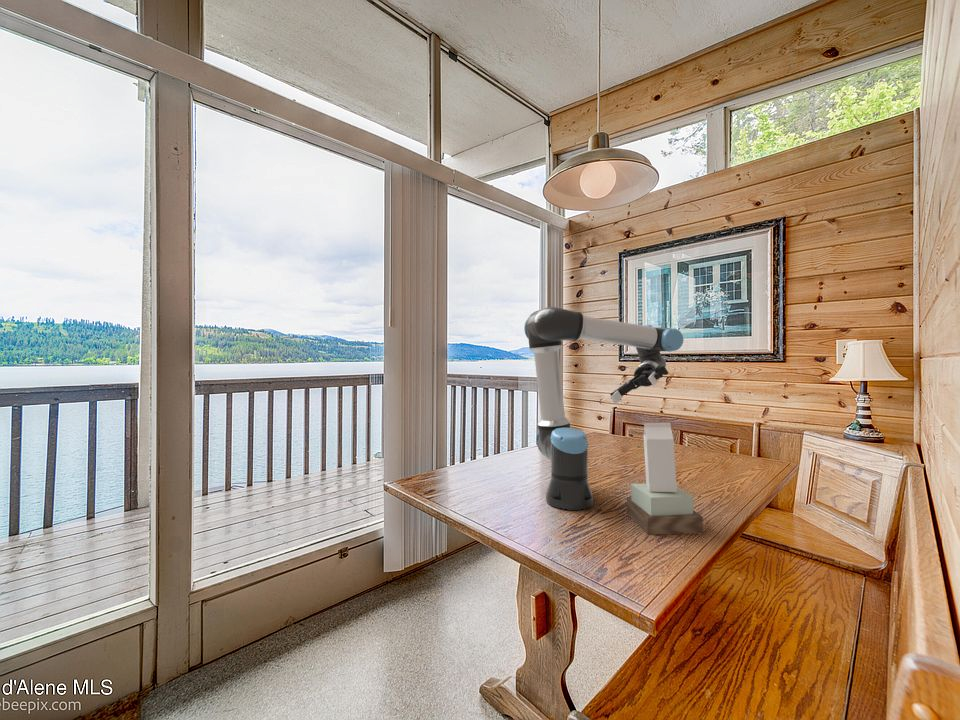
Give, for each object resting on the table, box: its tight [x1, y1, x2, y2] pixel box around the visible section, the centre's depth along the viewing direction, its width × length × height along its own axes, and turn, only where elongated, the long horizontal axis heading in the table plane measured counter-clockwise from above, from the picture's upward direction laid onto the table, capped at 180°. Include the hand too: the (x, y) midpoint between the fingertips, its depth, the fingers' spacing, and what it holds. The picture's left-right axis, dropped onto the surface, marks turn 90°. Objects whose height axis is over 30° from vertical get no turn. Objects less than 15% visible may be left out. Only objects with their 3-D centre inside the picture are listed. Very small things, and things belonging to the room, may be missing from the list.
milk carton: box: [642, 422, 678, 492], centre depth 119 cm, size 7×7×19 cm
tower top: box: [630, 483, 694, 516], centre depth 118 cm, size 12×12×5 cm
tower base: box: [626, 497, 704, 535], centre depth 118 cm, size 15×15×5 cm
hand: (631, 391), depth 128 cm, fingers open, 13 cm apart
